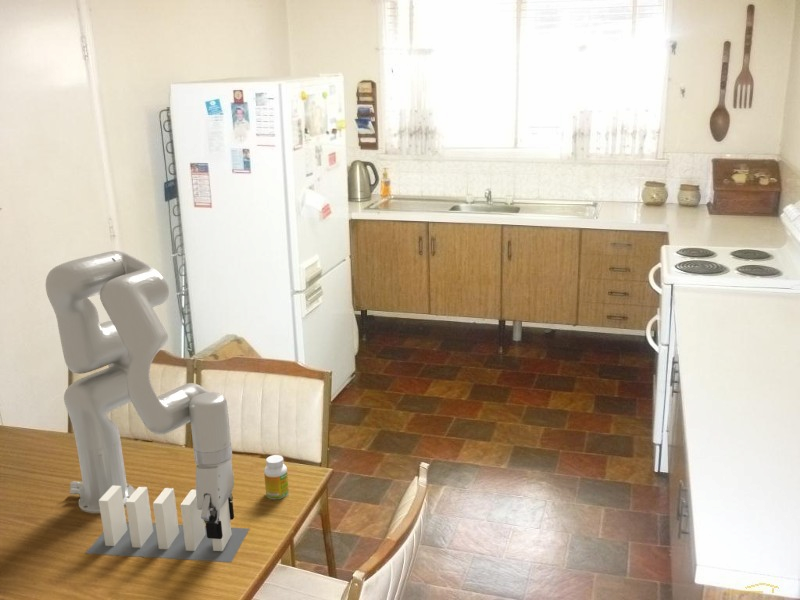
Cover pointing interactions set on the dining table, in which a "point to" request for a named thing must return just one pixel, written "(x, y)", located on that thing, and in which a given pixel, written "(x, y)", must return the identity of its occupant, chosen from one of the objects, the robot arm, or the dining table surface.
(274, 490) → the supplement bottle
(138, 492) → the domino
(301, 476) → the dining table surface
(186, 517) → the domino
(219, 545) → the domino
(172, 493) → the domino
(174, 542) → the mat
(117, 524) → the domino
